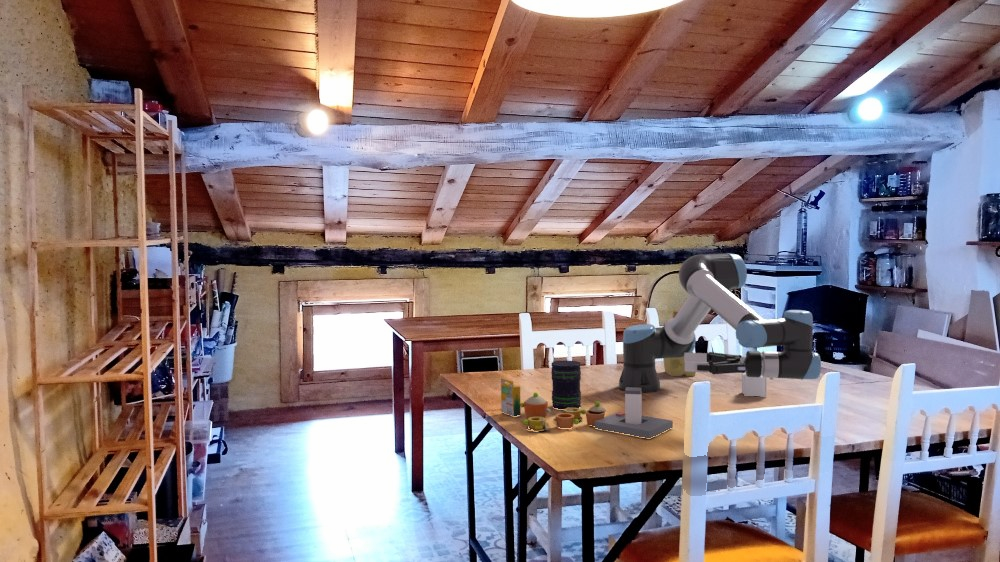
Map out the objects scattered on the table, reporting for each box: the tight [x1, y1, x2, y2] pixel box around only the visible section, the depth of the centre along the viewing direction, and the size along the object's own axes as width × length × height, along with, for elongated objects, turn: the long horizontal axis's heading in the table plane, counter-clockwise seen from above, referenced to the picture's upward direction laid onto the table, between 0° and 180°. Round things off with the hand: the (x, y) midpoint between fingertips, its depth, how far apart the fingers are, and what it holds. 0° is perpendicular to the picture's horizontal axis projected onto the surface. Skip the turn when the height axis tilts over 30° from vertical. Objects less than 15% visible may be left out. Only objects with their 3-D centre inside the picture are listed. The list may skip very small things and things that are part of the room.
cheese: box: [663, 350, 697, 377], centre depth 281 cm, size 10×11×10 cm
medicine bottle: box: [741, 370, 767, 398], centre depth 241 cm, size 7×7×12 cm
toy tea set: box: [520, 392, 607, 431], centre depth 208 cm, size 26×16×10 cm, turn 100°
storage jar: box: [550, 360, 582, 409], centre depth 229 cm, size 10×10×15 cm
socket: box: [594, 411, 674, 438], centre depth 202 cm, size 18×14×3 cm
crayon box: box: [500, 377, 521, 416], centre depth 221 cm, size 7×3×12 cm, turn 32°
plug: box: [624, 387, 643, 425], centre depth 201 cm, size 4×4×12 cm
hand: (684, 361), depth 202 cm, fingers open, 13 cm apart
